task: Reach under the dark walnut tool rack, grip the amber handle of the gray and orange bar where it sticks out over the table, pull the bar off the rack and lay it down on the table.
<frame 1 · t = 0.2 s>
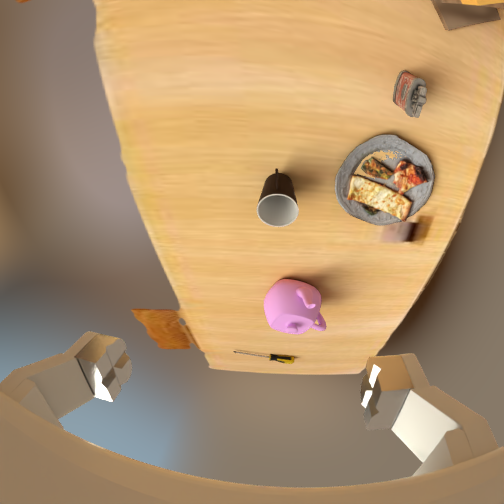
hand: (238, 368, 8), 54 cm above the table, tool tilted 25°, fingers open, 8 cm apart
lighter: (401, 87, 44), on the table
coffee mug: (281, 179, 64), on the table
food plate: (385, 180, 61), on the table
teapot: (293, 289, 94), on the table
screwdriver: (264, 353, 134), on the table
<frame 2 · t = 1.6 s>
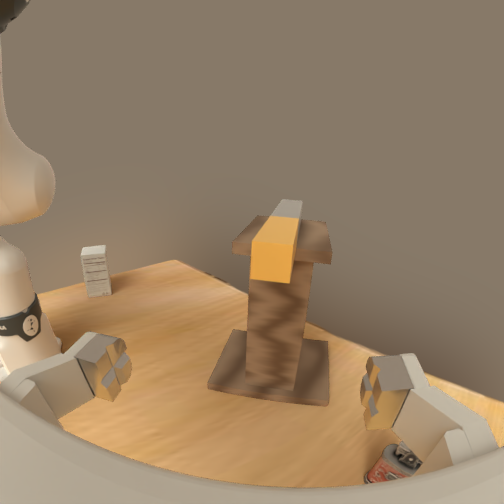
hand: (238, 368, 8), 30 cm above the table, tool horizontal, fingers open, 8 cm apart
gray and orange bar: (284, 240, 37), point 26 cm above the table, touching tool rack
lighter: (387, 488, 24), on the table
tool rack: (274, 367, 50), on the table
supplement box: (100, 291, 74), on the table
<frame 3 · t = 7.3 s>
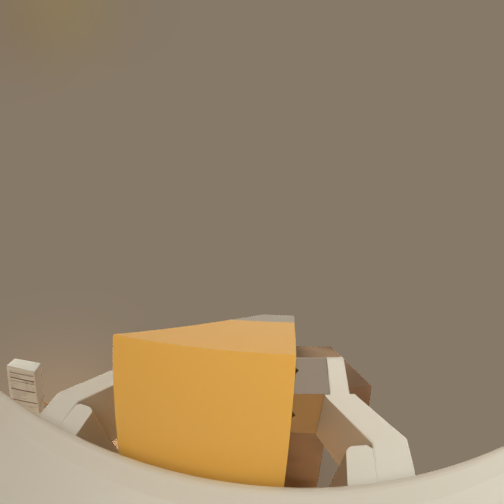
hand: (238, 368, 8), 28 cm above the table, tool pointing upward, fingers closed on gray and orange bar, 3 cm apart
gray and orange bar: (263, 373, 17), point 26 cm above the table, touching gripper, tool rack
supplement box: (30, 416, 40), on the table
when the fingers open (14 cm above the table, at t = 16.7 s): gray and orange bar drops 8 cm, on the table.
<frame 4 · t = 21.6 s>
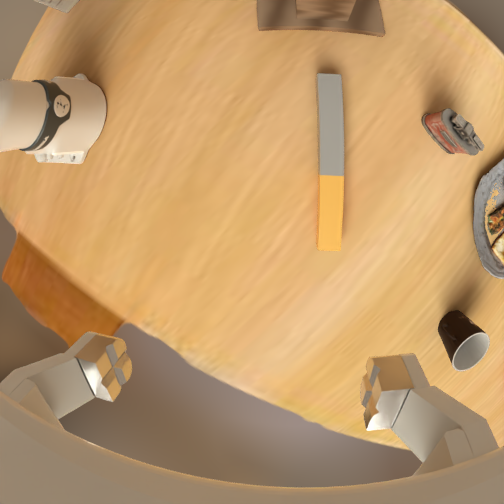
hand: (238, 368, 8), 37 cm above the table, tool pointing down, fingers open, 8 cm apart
gray and orange bar: (329, 161, 40), on the table
lighter: (438, 134, 36), on the table
coffee mug: (449, 318, 46), on the table
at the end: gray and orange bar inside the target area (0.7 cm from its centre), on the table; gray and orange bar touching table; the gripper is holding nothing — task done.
